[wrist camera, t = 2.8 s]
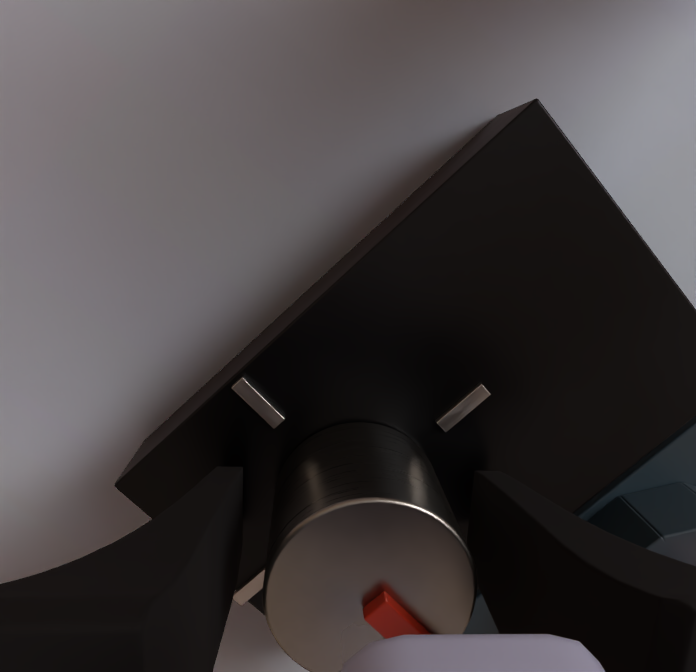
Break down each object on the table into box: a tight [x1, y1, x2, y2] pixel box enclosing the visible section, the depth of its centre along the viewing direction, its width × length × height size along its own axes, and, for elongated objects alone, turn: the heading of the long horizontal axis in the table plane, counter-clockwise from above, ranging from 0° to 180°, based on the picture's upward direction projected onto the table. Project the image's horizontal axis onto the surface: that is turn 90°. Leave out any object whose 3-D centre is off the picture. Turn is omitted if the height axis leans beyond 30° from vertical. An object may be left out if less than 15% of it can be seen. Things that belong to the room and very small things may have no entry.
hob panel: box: [115, 99, 696, 615], centre depth 15 cm, size 13×8×3 cm, turn 132°
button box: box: [463, 416, 696, 634], centre depth 16 cm, size 11×7×4 cm, turn 132°
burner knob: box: [262, 422, 477, 672], centre depth 12 cm, size 4×4×4 cm
